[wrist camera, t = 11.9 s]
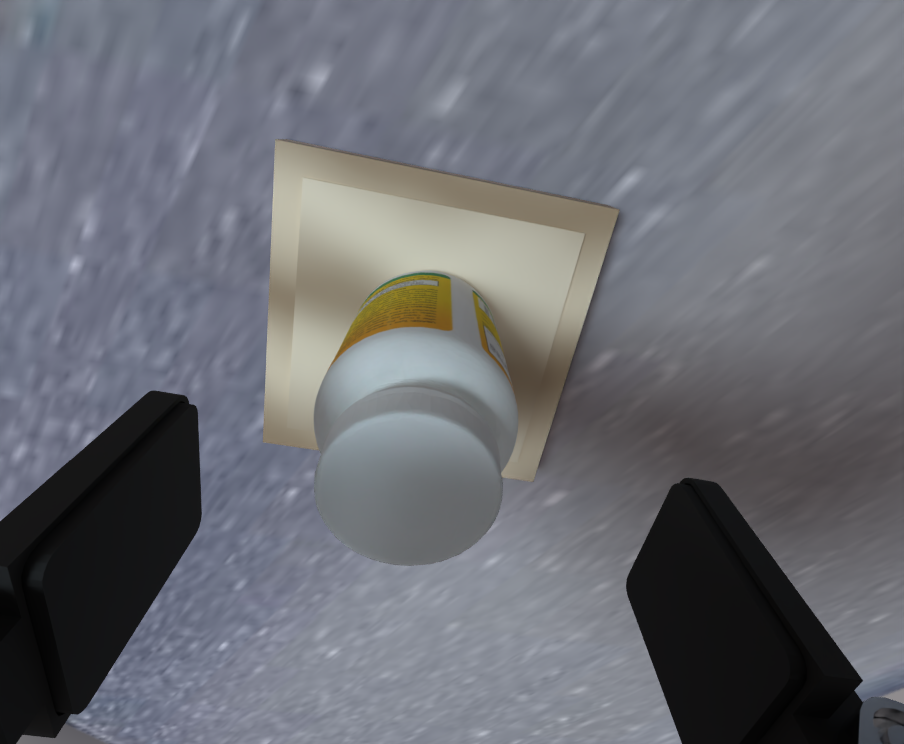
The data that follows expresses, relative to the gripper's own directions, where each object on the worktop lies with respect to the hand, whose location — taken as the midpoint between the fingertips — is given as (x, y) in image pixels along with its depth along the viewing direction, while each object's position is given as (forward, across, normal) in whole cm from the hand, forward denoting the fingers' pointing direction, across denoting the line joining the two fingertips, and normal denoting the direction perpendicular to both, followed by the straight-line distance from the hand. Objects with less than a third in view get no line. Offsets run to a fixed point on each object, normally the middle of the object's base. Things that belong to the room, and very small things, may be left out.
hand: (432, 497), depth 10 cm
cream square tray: (+12, +1, +1) cm, 12 cm away
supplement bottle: (+10, 0, +1) cm, 11 cm away
